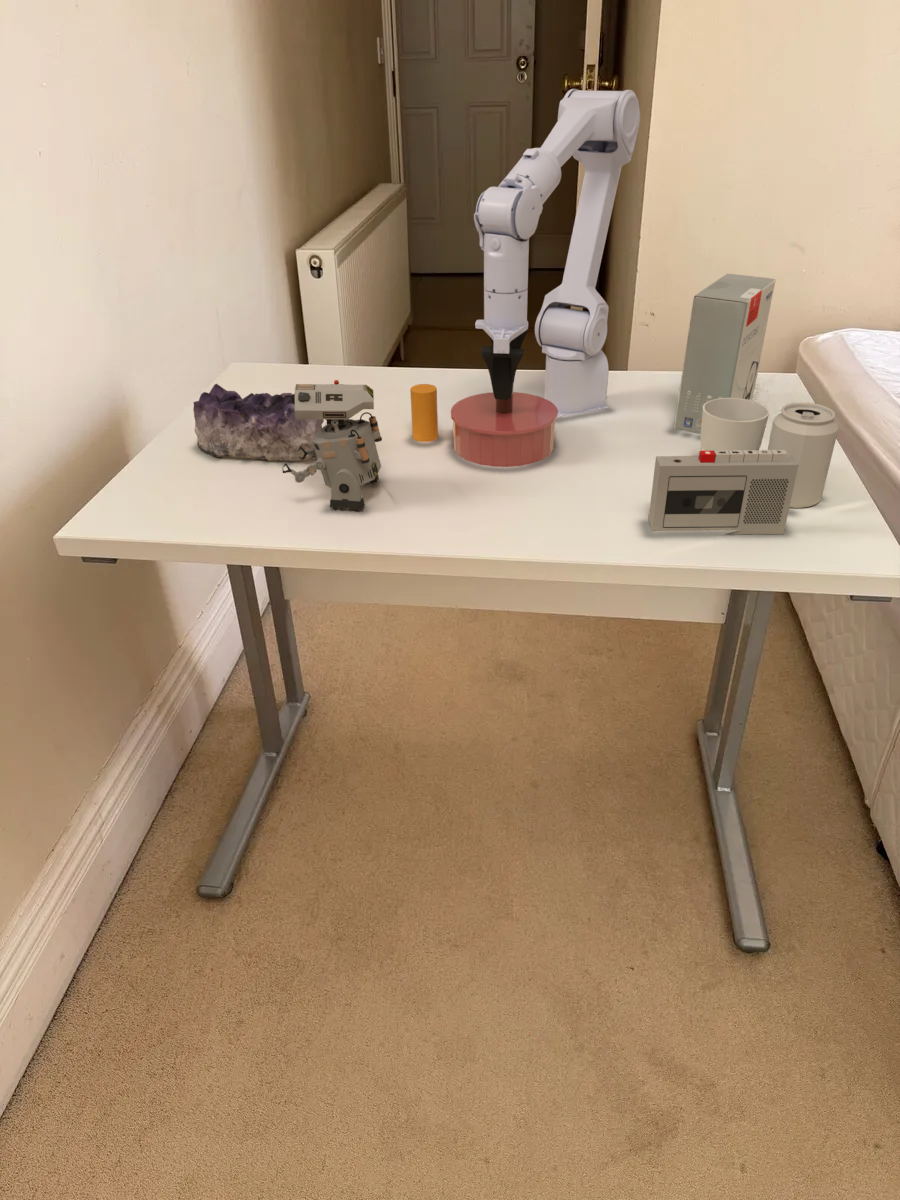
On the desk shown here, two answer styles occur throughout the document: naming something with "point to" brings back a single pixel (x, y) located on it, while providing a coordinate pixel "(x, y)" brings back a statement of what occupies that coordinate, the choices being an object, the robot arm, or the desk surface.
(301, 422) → the geode
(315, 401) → the figurine
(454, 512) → the desk surface
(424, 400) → the candle
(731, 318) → the hard drive box
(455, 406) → the lid
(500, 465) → the pot
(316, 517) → the desk surface
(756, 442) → the cup
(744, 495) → the cassette player
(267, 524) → the desk surface
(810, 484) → the can
